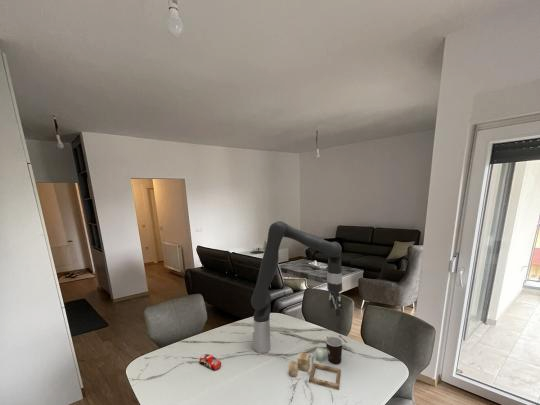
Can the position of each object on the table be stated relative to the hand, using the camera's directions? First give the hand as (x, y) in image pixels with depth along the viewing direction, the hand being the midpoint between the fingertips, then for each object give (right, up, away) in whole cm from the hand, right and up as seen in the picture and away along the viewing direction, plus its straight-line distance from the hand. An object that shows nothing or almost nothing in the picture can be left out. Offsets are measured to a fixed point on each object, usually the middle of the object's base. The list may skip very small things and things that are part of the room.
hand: (334, 311), depth 121 cm
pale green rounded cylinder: (-7, -27, +3) cm, 28 cm away
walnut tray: (-7, -27, -10) cm, 29 cm away
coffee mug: (+1, -27, +3) cm, 27 cm away
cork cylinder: (-23, -27, -8) cm, 36 cm away
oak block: (-17, -27, -3) cm, 32 cm away
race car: (-65, -29, +1) cm, 71 cm away
